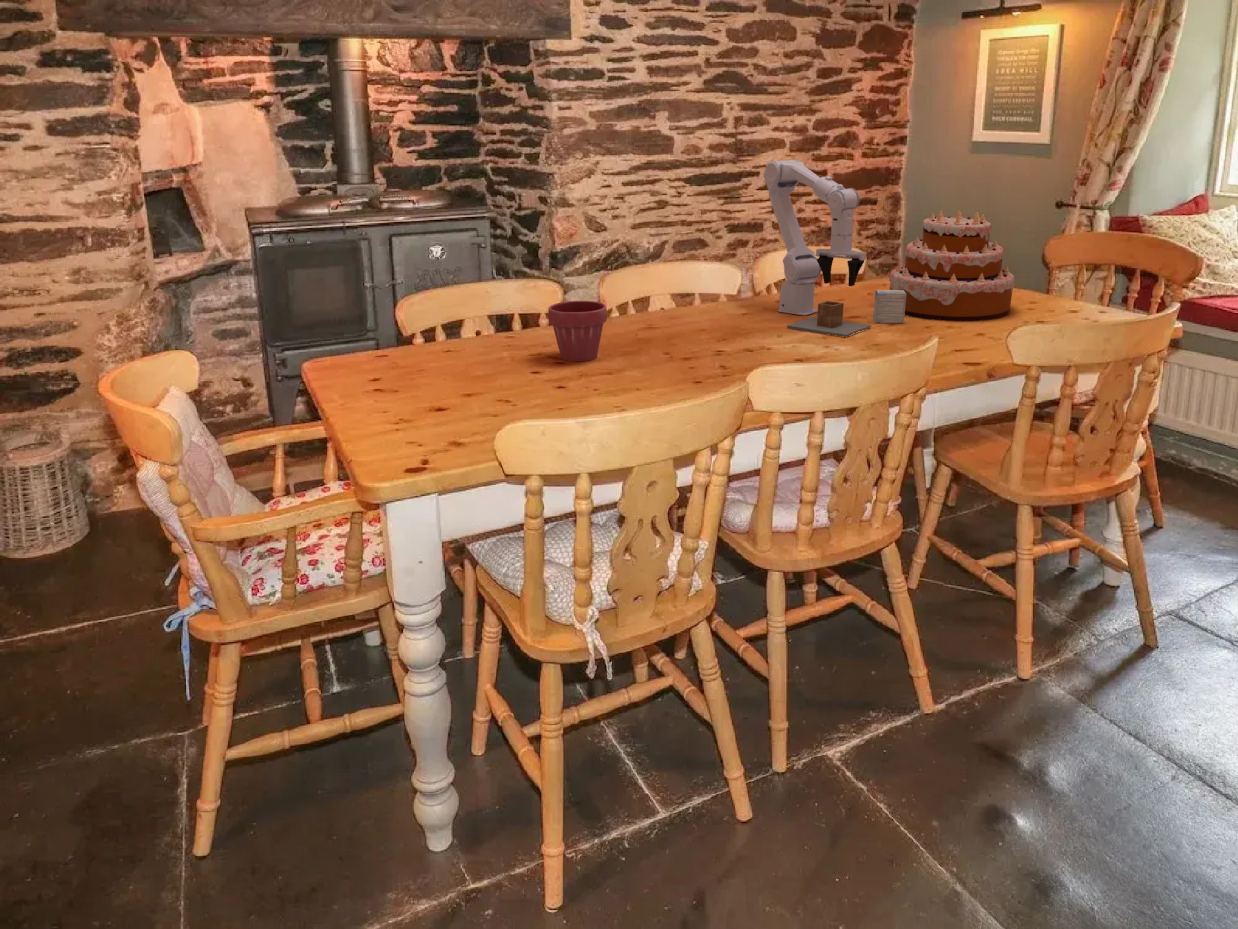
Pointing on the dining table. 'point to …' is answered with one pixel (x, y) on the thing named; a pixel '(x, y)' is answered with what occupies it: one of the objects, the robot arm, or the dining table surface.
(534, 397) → the dining table surface
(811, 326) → the pin board
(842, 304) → the walnut collar
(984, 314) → the cake
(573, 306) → the plant pot
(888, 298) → the medicine box
